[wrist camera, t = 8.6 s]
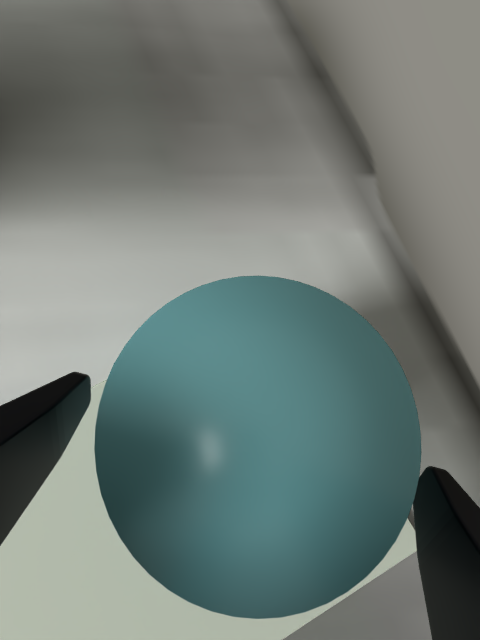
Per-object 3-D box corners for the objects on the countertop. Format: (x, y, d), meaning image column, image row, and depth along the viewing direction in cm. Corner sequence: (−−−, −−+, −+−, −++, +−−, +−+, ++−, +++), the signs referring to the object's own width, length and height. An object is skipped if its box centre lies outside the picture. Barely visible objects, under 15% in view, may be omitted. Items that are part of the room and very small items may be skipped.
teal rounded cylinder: (217, 516, 17) (187, 702, 6) (155, 390, 18) (42, 365, 8) (336, 443, 18) (490, 497, 7) (268, 328, 19) (311, 226, 8)
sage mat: (39, 792, 15) (34, 802, 14) (-64, 470, 18) (-71, 472, 17) (419, 542, 17) (423, 545, 17) (273, 294, 20) (274, 292, 20)
